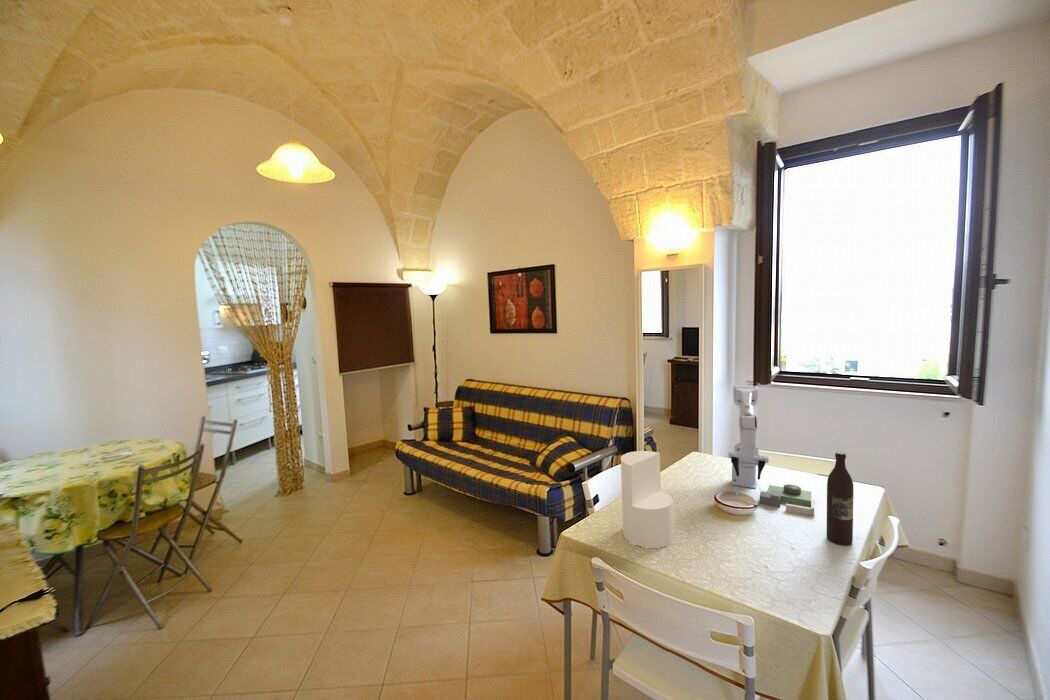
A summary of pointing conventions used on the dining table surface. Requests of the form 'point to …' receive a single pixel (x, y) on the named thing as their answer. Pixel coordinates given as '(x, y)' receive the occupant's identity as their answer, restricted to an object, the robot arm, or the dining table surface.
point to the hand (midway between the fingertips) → (748, 477)
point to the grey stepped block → (770, 498)
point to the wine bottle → (840, 503)
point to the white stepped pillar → (645, 501)
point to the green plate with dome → (795, 499)
